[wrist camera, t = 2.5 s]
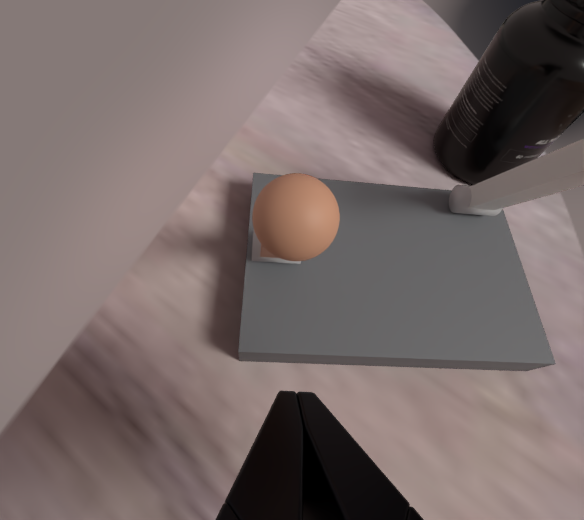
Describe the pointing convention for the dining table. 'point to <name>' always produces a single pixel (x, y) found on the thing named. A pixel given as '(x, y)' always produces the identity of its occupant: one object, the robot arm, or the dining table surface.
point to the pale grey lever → (522, 183)
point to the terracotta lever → (293, 219)
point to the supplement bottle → (517, 93)
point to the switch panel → (396, 289)
